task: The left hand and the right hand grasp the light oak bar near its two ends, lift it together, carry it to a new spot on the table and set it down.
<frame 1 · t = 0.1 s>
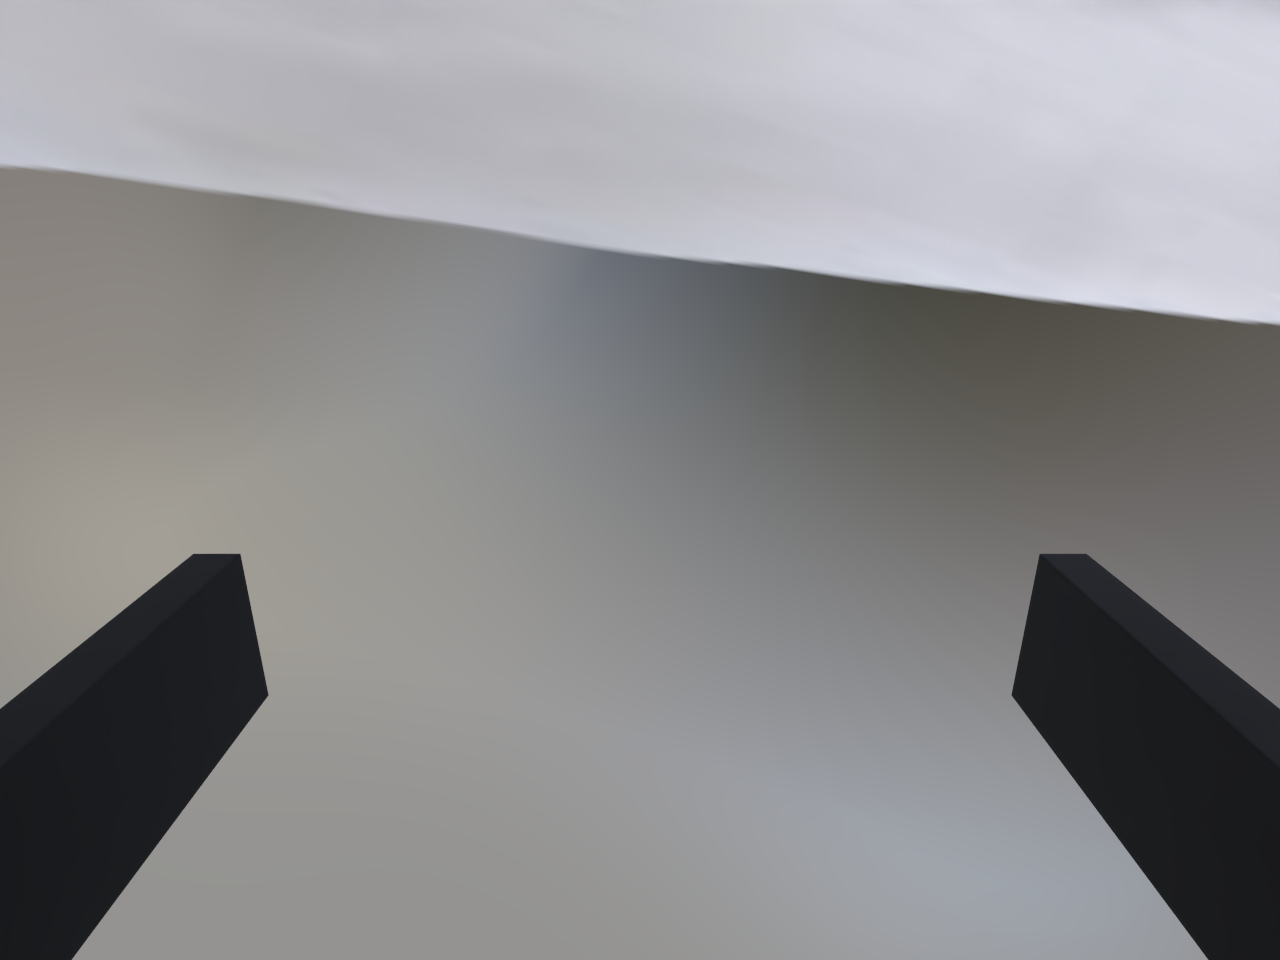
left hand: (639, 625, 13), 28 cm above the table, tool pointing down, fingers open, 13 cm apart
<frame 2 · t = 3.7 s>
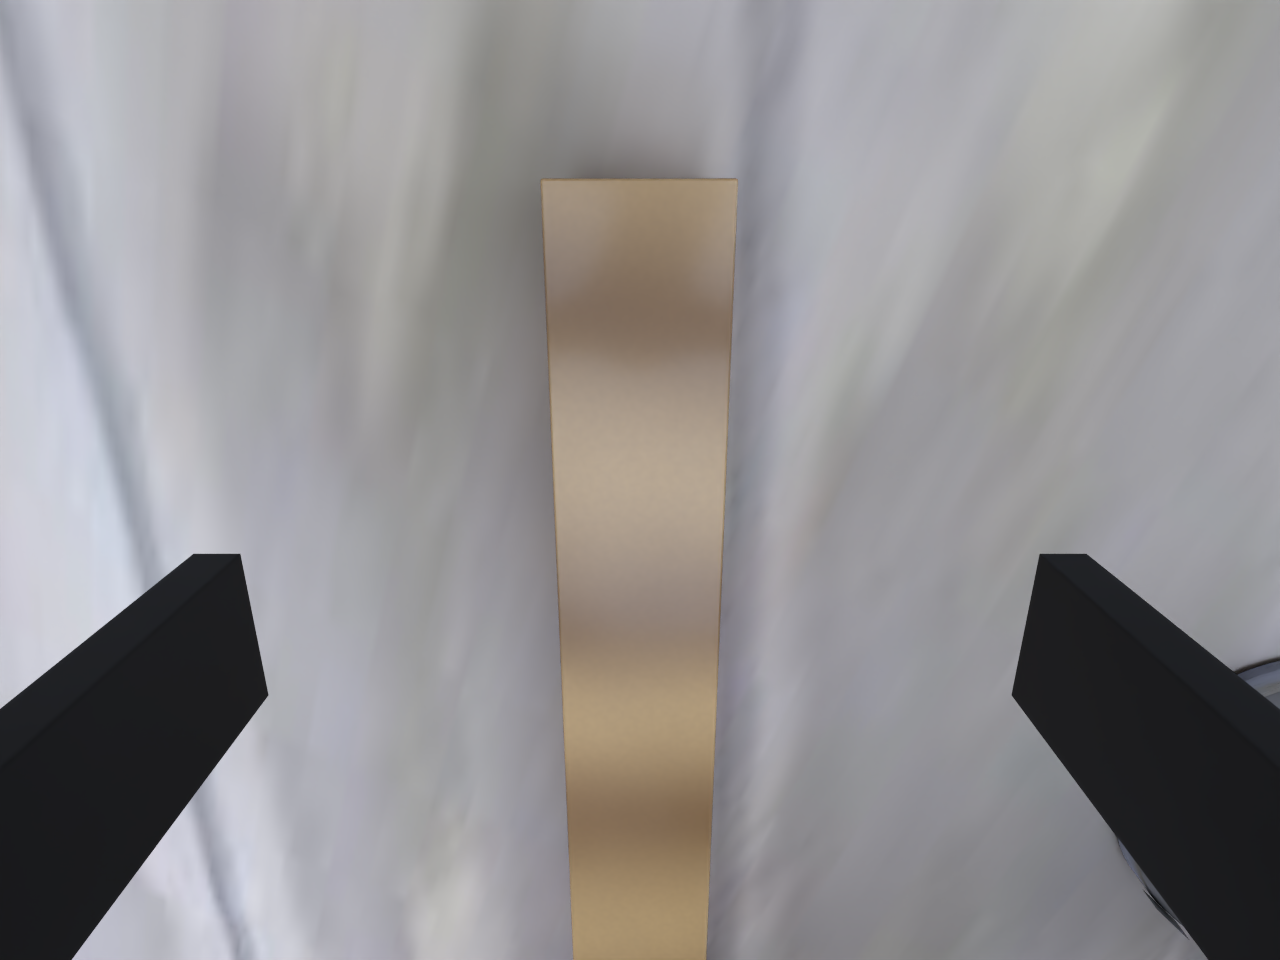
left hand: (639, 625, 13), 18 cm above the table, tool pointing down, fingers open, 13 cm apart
bar: (639, 849, 38), on the table, touching right hand
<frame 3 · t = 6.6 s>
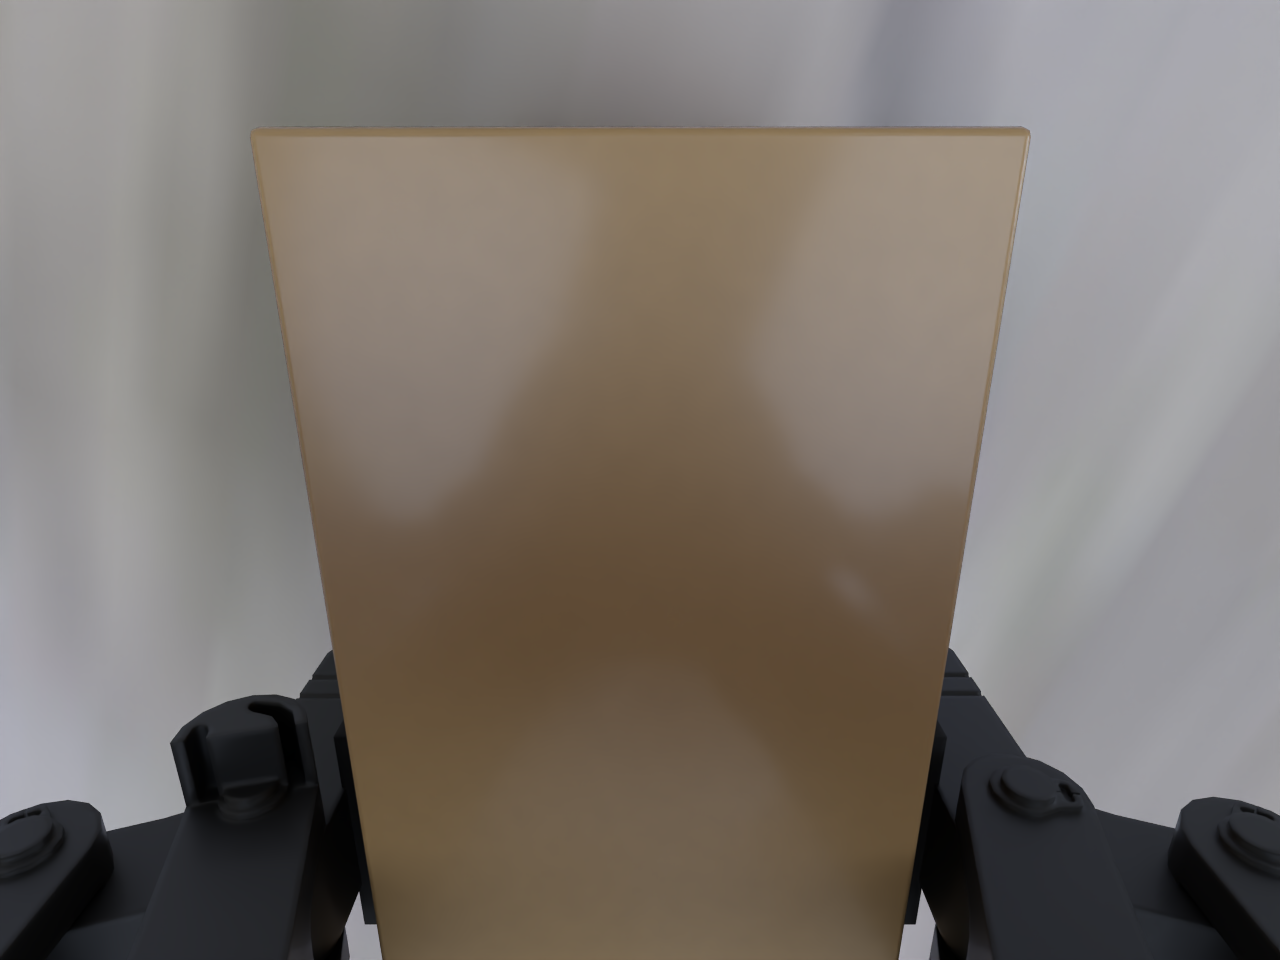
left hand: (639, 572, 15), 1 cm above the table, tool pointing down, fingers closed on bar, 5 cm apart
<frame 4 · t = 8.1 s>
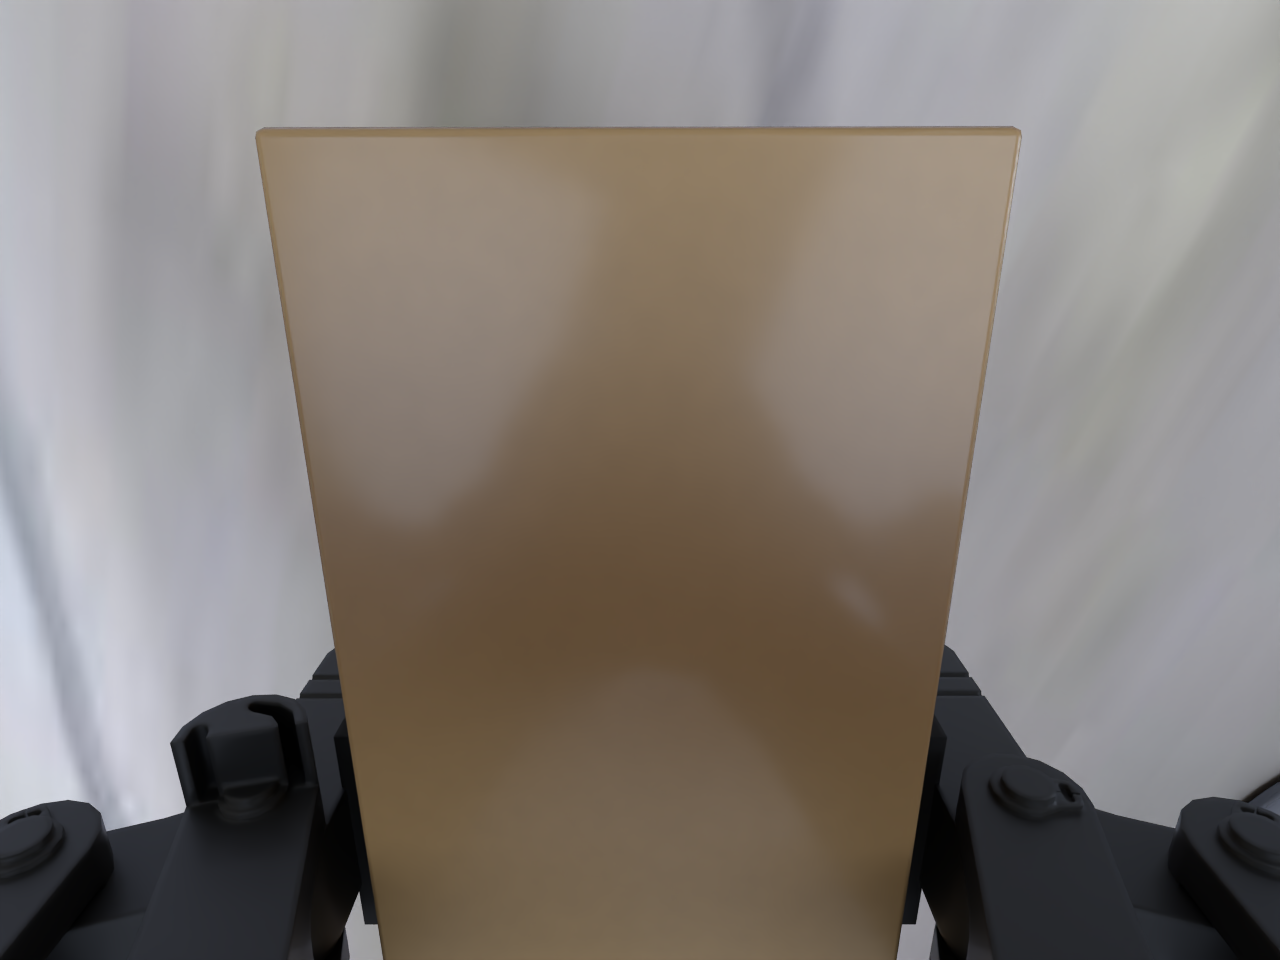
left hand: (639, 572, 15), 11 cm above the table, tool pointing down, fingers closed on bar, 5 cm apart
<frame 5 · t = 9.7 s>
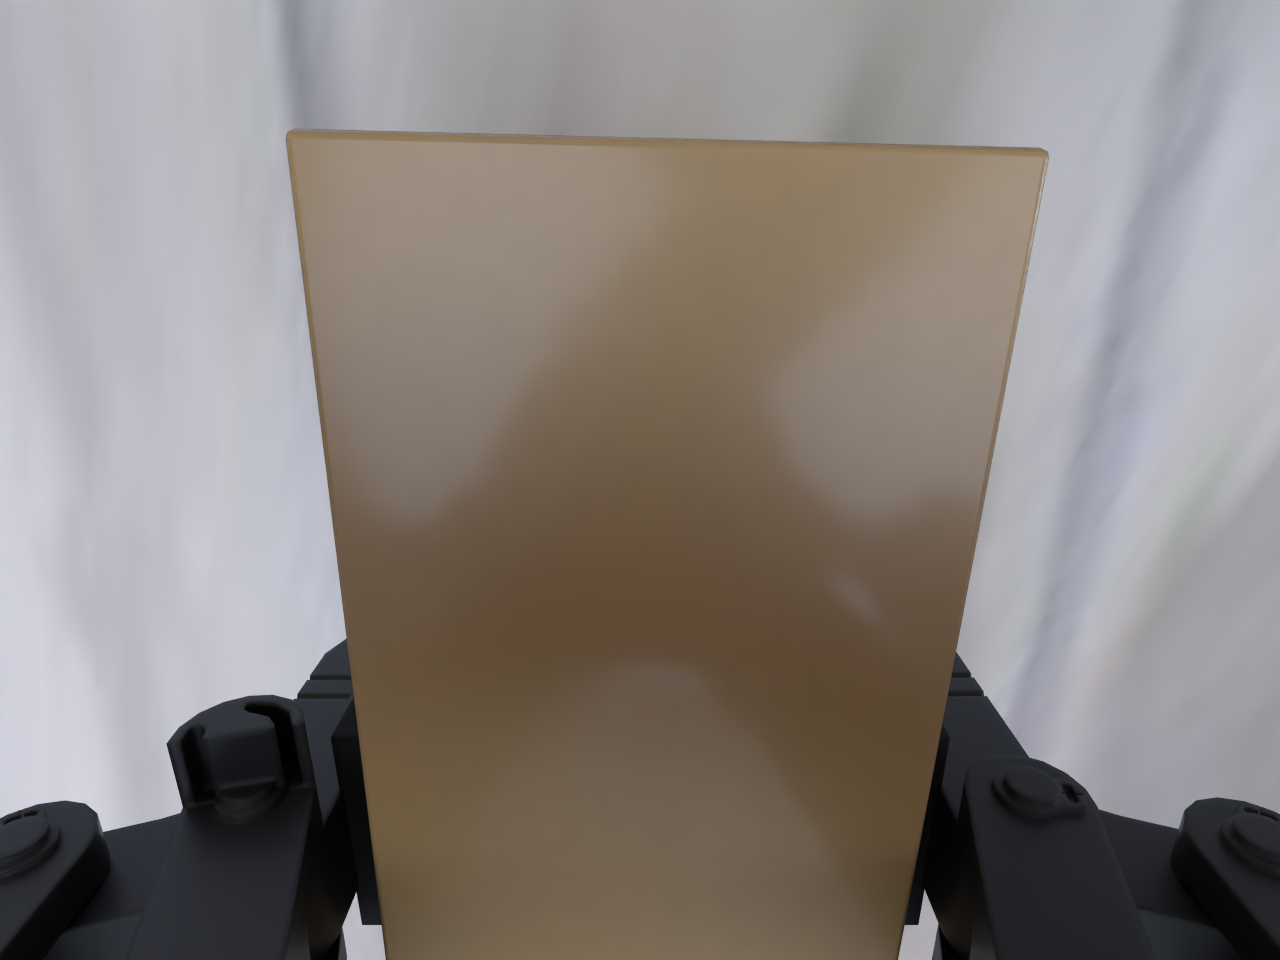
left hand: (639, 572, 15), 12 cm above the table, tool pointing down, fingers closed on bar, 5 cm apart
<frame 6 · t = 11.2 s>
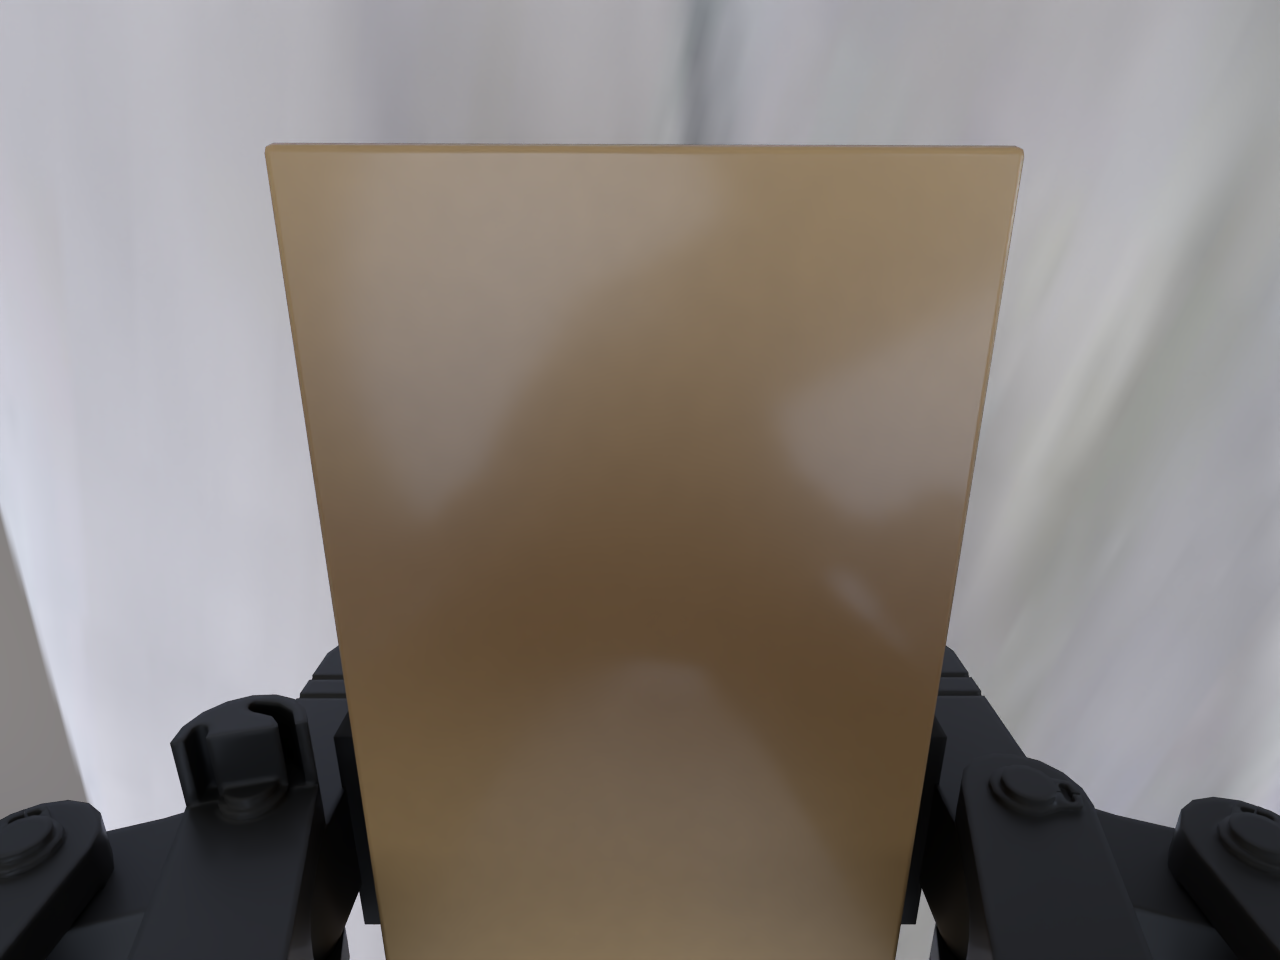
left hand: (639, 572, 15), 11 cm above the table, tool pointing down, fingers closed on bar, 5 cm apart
when the left hand's fingers open (2 cm above the table, at t = 12.7 s): bar stays where it is, on the table.
when the right hand's fingers open (2 cm above the table, at t = 12.7 s): bar stays where it is, on the table.
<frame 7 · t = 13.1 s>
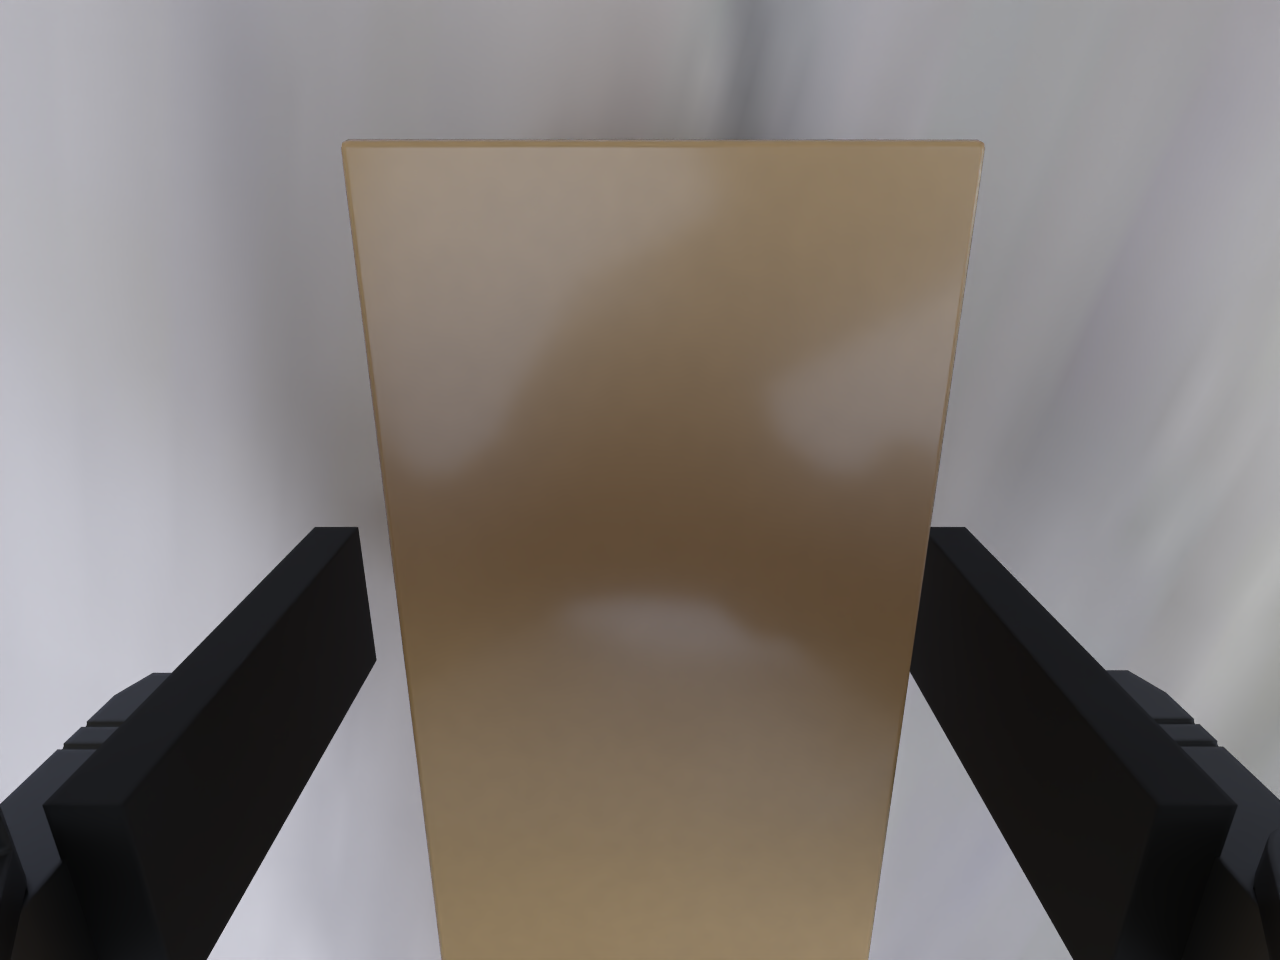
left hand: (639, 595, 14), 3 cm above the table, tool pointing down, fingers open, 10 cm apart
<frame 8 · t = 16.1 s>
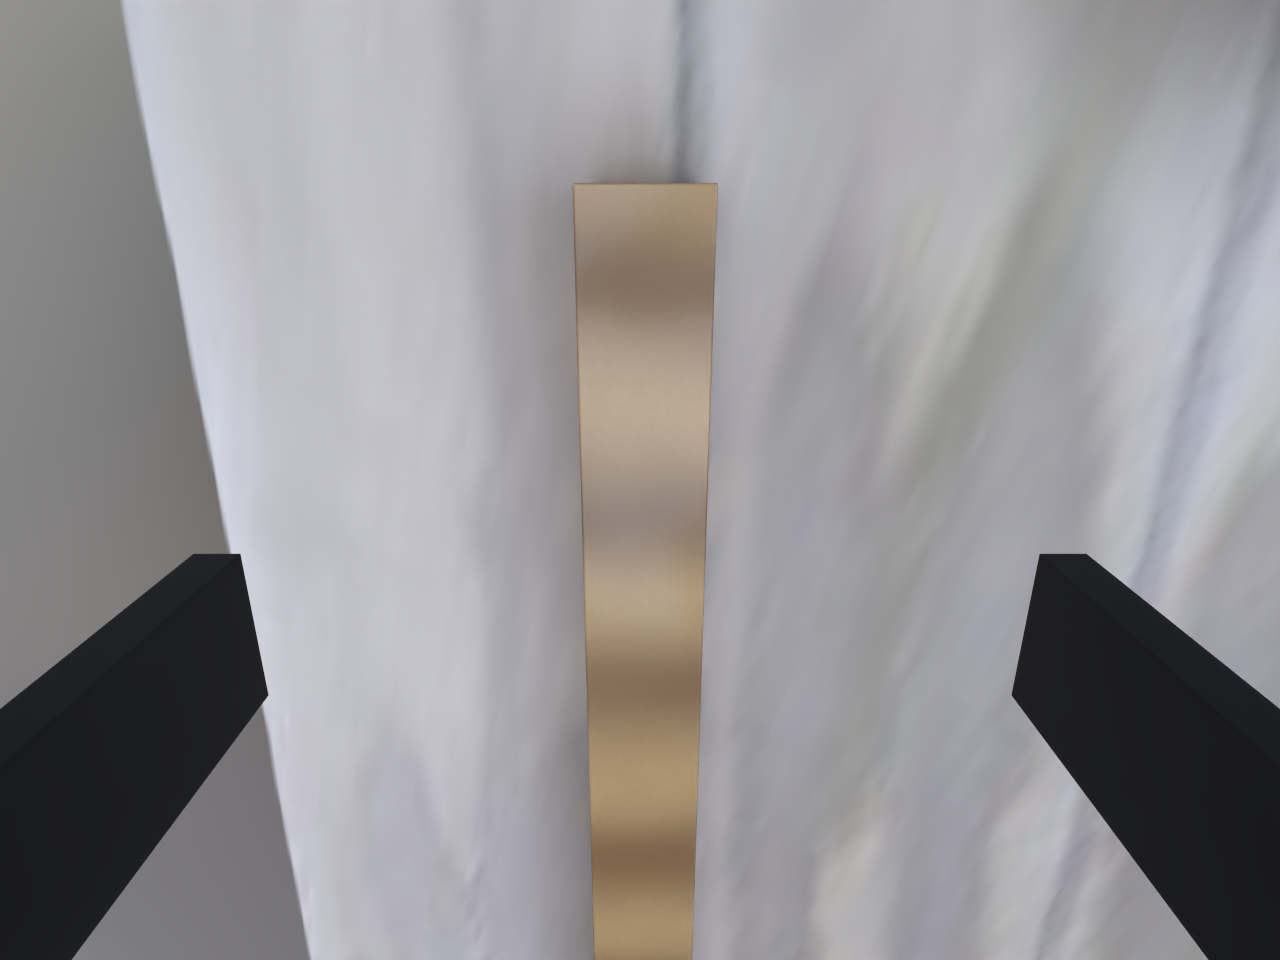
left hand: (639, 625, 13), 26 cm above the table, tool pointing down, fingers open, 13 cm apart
bar: (642, 745, 45), on the table
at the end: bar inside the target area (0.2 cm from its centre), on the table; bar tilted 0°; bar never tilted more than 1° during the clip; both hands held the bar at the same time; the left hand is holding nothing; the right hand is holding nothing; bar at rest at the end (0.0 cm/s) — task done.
